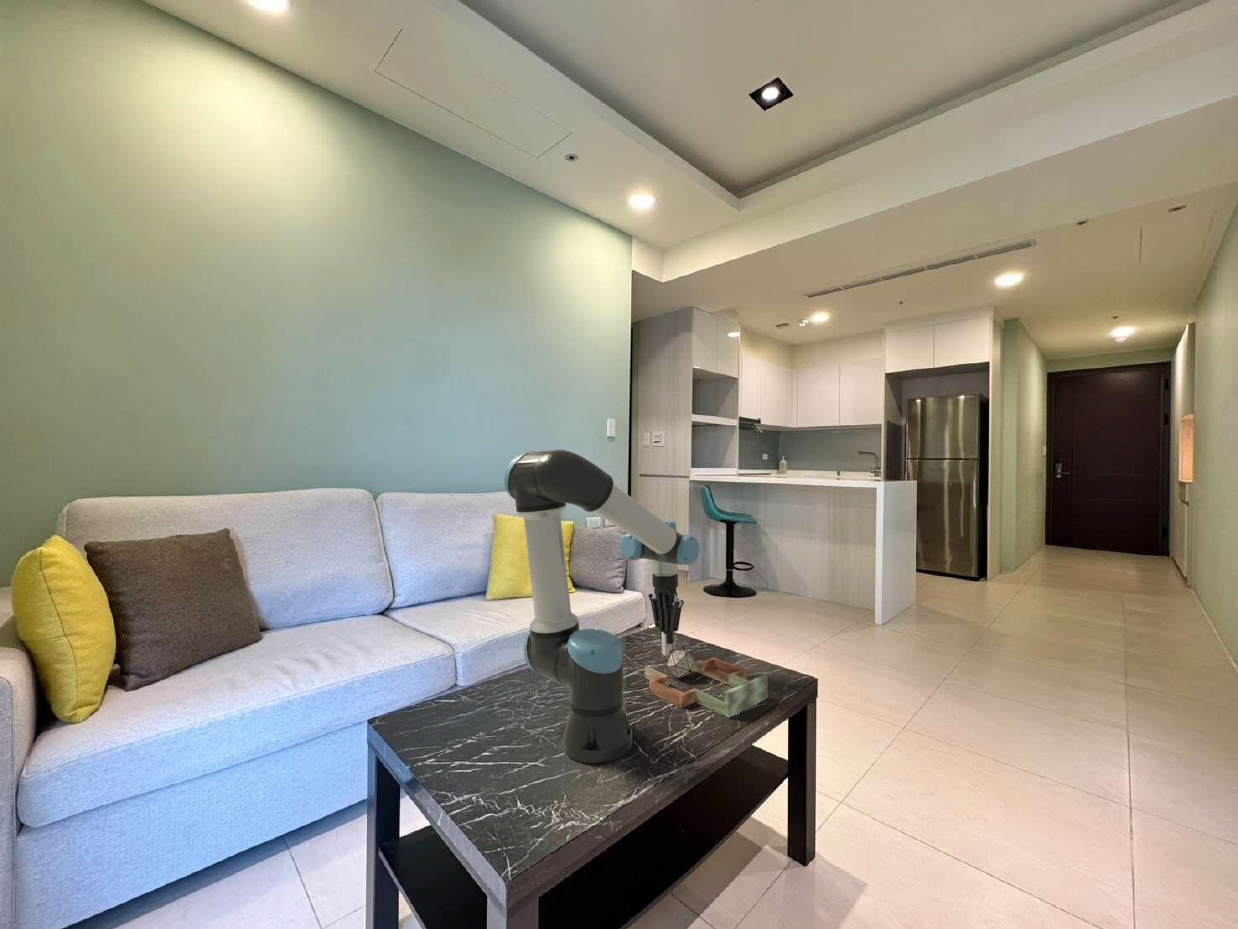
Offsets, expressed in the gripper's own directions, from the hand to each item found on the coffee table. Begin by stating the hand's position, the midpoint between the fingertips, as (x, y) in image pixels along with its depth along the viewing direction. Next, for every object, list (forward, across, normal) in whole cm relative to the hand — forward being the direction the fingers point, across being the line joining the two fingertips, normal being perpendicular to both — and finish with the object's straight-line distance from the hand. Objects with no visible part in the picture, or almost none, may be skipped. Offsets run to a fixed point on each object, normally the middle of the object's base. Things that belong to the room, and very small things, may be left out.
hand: (667, 653), depth 146 cm
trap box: (+5, -14, 0) cm, 15 cm away
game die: (+6, -5, 0) cm, 8 cm away
